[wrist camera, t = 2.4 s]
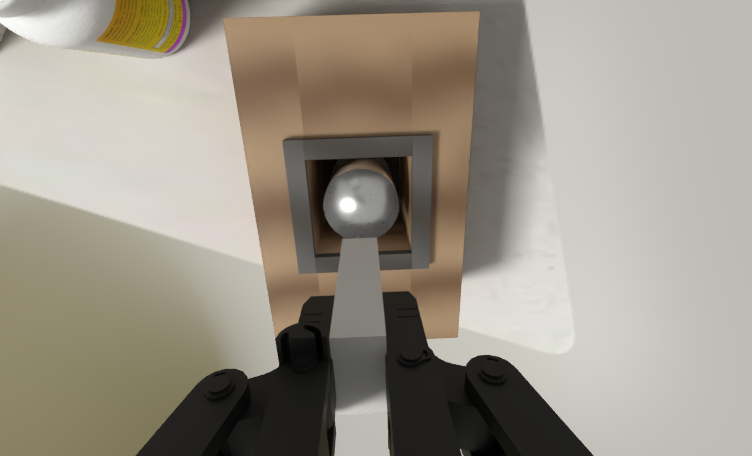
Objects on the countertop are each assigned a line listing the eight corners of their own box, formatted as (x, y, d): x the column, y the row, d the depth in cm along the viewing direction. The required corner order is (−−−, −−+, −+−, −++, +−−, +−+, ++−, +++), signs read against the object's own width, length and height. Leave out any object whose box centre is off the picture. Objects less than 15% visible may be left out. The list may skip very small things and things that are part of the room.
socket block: (261, 37, 27) (218, 16, 19) (447, 31, 27) (483, 8, 19) (295, 290, 35) (275, 351, 27) (437, 284, 35) (459, 342, 27)
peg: (330, 149, 30) (319, 170, 23) (389, 147, 30) (398, 167, 23) (334, 206, 32) (326, 242, 24) (390, 203, 32) (399, 239, 25)
